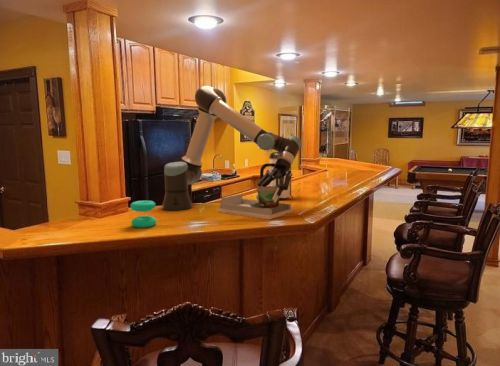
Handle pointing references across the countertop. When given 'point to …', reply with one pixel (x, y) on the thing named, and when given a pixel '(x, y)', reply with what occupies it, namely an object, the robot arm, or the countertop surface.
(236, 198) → the pusher lane
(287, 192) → the coffee press
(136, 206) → the donuts
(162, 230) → the countertop surface
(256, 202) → the pusher paddle
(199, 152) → the robot arm
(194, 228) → the countertop surface
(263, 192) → the food container
